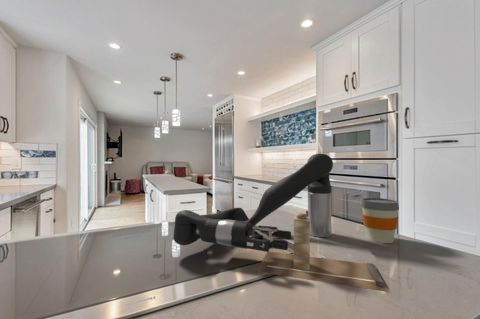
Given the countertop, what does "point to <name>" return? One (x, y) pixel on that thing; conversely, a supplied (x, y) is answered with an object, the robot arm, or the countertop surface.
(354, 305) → the countertop surface
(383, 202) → the reusable coffee cup
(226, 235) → the robot arm
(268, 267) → the walnut board
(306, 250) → the wooden pepper mill
